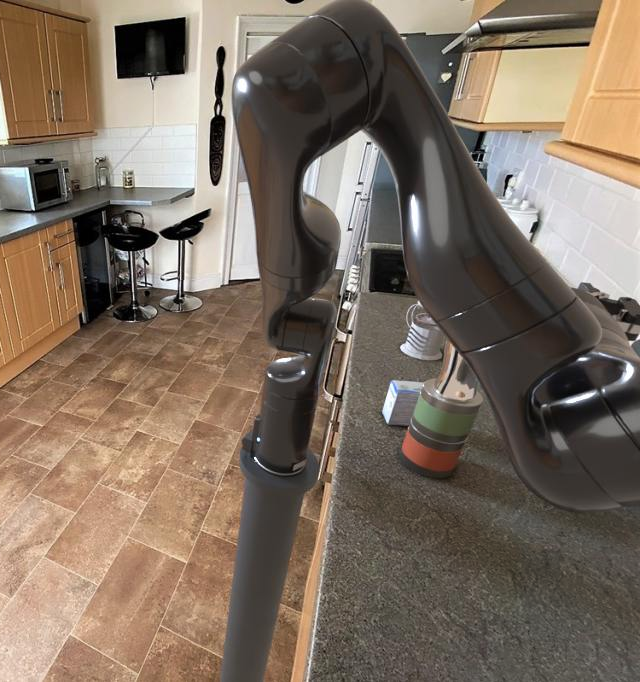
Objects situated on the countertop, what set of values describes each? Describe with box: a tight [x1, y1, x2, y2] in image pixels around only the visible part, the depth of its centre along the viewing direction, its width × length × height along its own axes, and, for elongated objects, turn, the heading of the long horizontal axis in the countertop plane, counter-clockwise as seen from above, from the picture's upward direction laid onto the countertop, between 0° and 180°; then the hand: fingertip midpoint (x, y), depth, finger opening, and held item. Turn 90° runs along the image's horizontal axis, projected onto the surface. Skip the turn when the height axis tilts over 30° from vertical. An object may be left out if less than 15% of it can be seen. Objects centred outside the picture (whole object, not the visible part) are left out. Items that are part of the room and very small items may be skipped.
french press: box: [399, 300, 445, 361], centre depth 112 cm, size 10×12×25 cm
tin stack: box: [399, 377, 484, 479], centre depth 77 cm, size 9×9×16 cm
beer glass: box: [432, 337, 479, 402], centre depth 70 cm, size 7×7×15 cm
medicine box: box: [382, 379, 424, 427], centre depth 89 cm, size 8×4×9 cm, turn 77°
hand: (532, 284), depth 51 cm, fingers open, 8 cm apart
